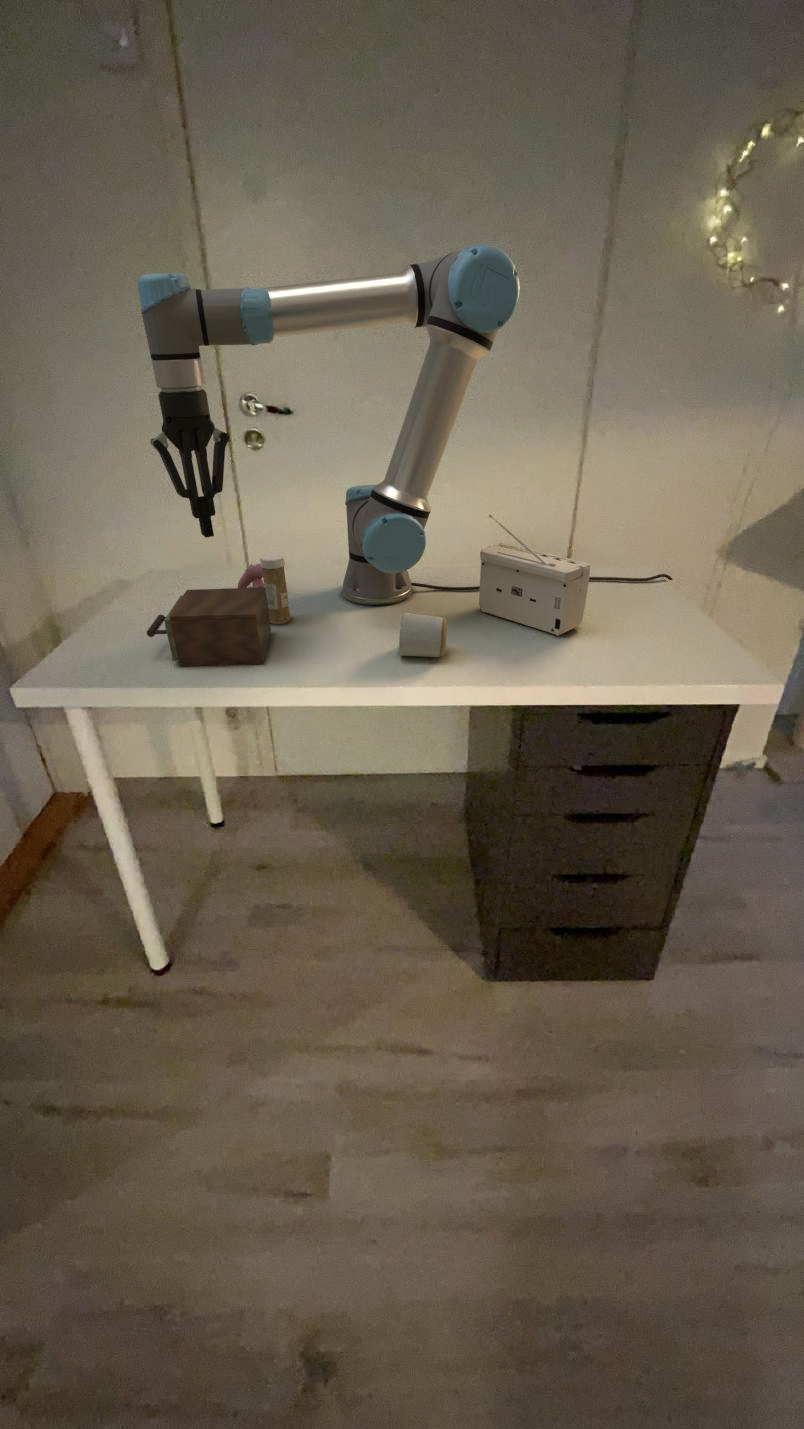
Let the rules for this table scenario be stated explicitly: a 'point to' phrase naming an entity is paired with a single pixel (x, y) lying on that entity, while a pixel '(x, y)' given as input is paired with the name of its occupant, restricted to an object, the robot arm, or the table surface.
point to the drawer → (168, 631)
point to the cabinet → (221, 627)
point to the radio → (533, 587)
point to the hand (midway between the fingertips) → (207, 535)
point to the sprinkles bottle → (275, 587)
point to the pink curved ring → (252, 577)
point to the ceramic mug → (422, 635)
